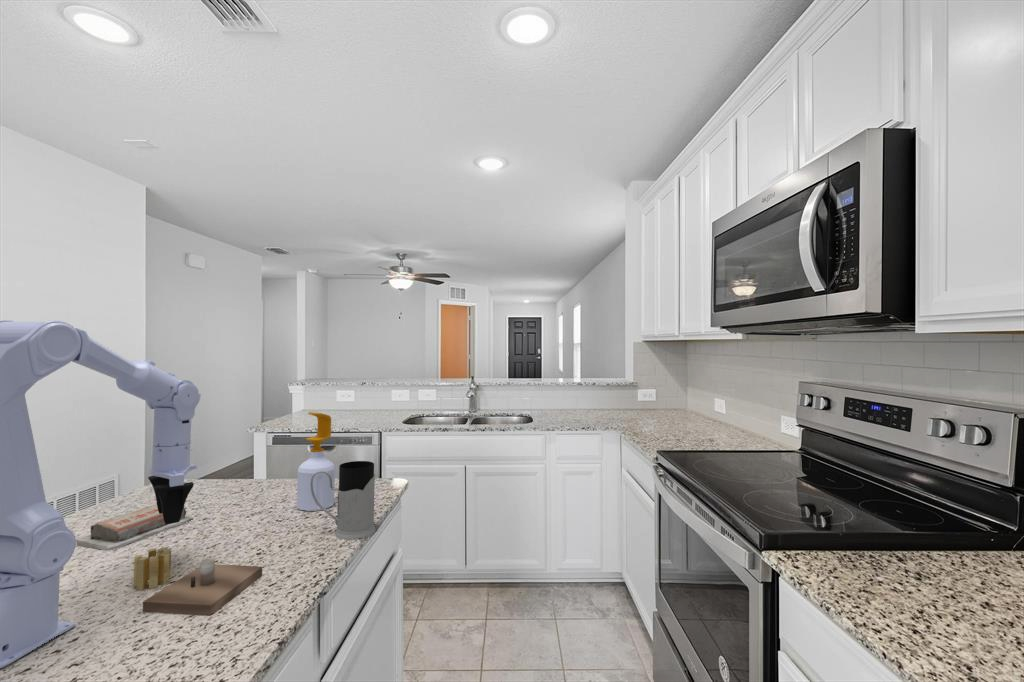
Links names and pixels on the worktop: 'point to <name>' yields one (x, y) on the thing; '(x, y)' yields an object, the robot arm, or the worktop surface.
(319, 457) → the soap bottle
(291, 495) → the worktop surface
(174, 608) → the post base
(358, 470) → the glass holder
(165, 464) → the robot arm
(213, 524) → the worktop surface
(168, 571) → the wooden block ring
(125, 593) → the worktop surface
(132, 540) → the packaged product
